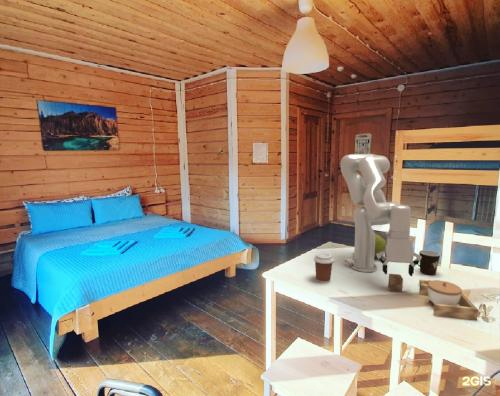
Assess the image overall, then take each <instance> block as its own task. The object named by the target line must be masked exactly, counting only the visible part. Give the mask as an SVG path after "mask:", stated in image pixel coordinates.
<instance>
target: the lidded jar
mask: <svg viewBox="0 0 500 396" xmlns="http://www.w3.org/2000/svg"><path fill="white" fill-rule="evenodd" d="M461 293H462V294H463V292H462V288H461V287H460V286H459V285H457V284H455V283H452V282H449V281H445V280H437V279H434V280H431V281H430V282H428V295H427V296H428V298H429V300H430V301H431V303H433V305H434V303H435V304H445V305H454V306H458V305H459V304H458V303H459V301H460V297H461Z"/></svg>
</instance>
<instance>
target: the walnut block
mask: <svg viewBox="0 0 500 396" xmlns="http://www.w3.org/2000/svg"><path fill="white" fill-rule="evenodd" d="M387 283H388V284H387V288H388V289H389V291H390V292H393V293H394V292H395V293H403V287H404V286H403V284H404V278H403V277H402V275H401V274H399V273H397V274H396V273H389V274H388V282H387Z"/></svg>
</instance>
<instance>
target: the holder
mask: <svg viewBox="0 0 500 396" xmlns="http://www.w3.org/2000/svg"><path fill="white" fill-rule="evenodd" d="M418 280H419V281H418V285H419V289H418V293H419V295H422V296H423V295H424V296H426V295H427V296H429V295H428V282H430V281H432V280H430V279H418ZM478 313H479V308H477V307H476V306H475V305H474V304H473V303H472V301H470V300H469V299H468V298H467V296H465V295H464V293H463V292H462V293H461V297H460V301H459V303H458V304H457V305H456V306H454V305H445V304H435V303H434V304H433V313H432V314H433V315H434V316H436V317H446V318H456V319H462V320H463V319H464V320H472V321H478V320H477V319H478Z"/></svg>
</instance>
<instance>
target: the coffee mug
mask: <svg viewBox="0 0 500 396" xmlns="http://www.w3.org/2000/svg"><path fill="white" fill-rule="evenodd" d="M418 252H419V253H418V255H420V256H421V257H422V258H421V260H420V261H419V263H418V264H417V265H416V266H418V267H419V271H420V273H421V274H423V275H426V276H435V275H436V274H437V271H438V266H439V261H440V257H441V254H440V253H439V252H437V251H435V250H429V249H421V250H419V251H418Z"/></svg>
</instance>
